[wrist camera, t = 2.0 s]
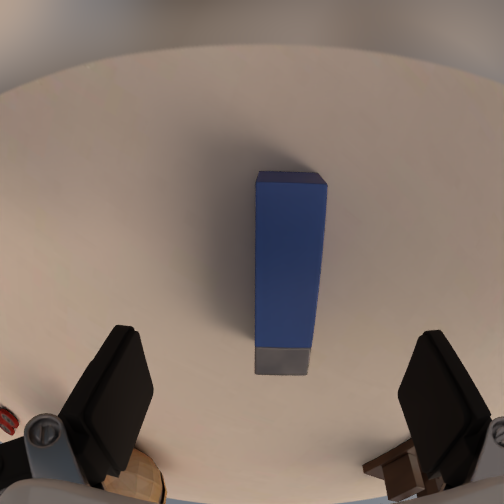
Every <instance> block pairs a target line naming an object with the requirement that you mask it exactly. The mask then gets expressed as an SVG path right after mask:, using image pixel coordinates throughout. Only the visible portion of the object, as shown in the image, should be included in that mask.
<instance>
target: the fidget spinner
mask: <svg viewBox="0 0 504 504" xmlns="http://www.w3.org/2000/svg"><path fill="white" fill-rule="evenodd" d="M11 426H12V427H14V428H17V427H18V426H19V422H18V421H17V419H16V418H15V417H14V416H13V415H12V414H11V413H9V412H8V411H7V410H5V409H1V410H0V427H1V428H2V429H3V430H4V431H5V432H6V433H8V434H9V435H13V434H14V433H15V431H14V429H13V428H12V427H11Z"/></svg>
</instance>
